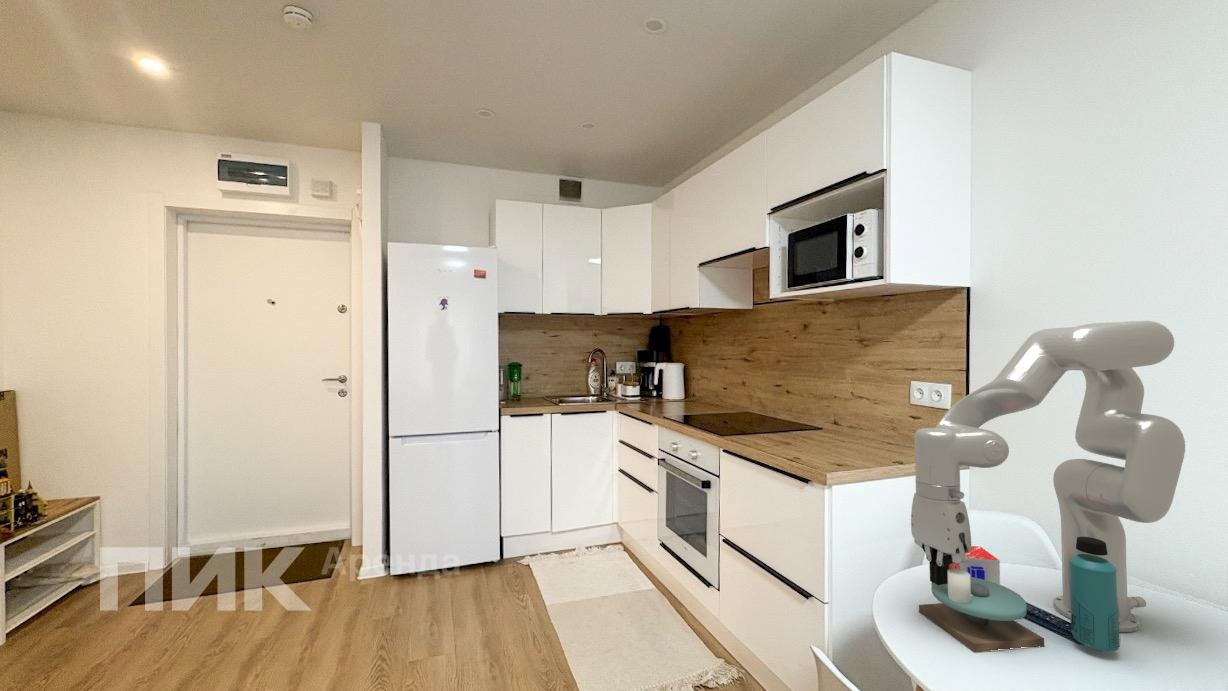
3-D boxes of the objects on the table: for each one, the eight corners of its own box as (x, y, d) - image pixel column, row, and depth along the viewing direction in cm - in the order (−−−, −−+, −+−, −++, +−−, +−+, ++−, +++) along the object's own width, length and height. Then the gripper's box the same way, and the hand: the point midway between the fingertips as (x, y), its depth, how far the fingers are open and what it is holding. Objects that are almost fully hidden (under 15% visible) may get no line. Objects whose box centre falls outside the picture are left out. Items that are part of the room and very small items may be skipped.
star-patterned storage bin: (981, 579, 117) (980, 546, 117) (1000, 596, 109) (999, 560, 110) (943, 577, 119) (943, 544, 119) (960, 593, 111) (959, 557, 111)
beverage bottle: (1131, 663, 86) (1128, 547, 86) (1086, 658, 87) (1083, 544, 87) (1102, 641, 92) (1099, 533, 92) (1061, 637, 93) (1058, 531, 94)
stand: (980, 607, 105) (979, 582, 105) (1044, 646, 91) (1043, 618, 91) (918, 612, 103) (918, 587, 103) (974, 652, 89) (973, 623, 89)
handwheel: (930, 605, 95) (929, 571, 95) (932, 576, 107) (932, 546, 107) (1031, 629, 86) (1030, 592, 87) (1021, 594, 99) (1020, 561, 99)
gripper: (988, 499, 93) (991, 598, 92) (920, 480, 107) (922, 565, 107) (957, 503, 91) (959, 603, 91) (892, 482, 105) (894, 569, 105)
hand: (939, 582), depth 99 cm, fingers closed
